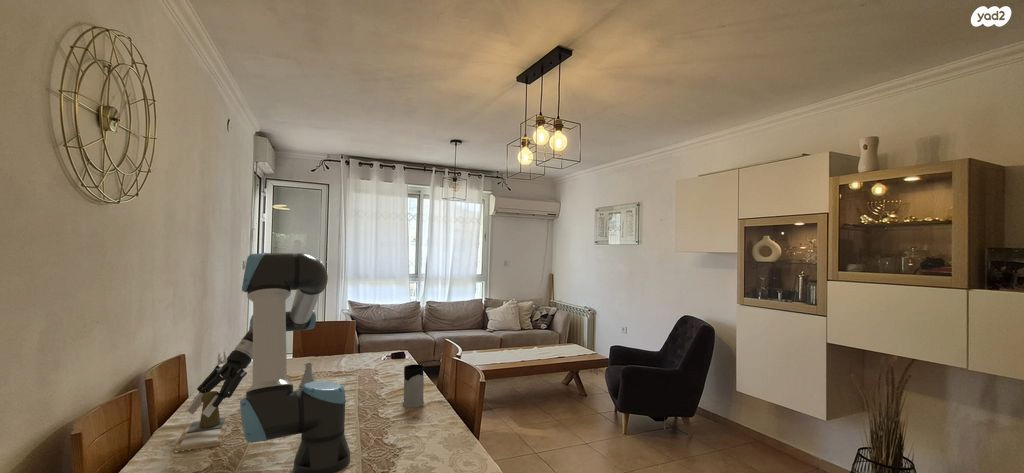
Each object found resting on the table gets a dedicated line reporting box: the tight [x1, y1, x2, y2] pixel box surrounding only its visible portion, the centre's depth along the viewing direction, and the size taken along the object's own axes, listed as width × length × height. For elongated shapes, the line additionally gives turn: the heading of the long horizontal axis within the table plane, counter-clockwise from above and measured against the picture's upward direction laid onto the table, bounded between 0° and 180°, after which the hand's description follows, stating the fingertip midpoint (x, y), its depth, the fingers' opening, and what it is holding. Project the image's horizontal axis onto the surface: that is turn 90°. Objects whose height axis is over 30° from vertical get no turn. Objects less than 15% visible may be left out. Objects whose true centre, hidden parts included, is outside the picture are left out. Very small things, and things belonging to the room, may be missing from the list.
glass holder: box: [402, 364, 425, 409], centre depth 181 cm, size 9×14×15 cm, turn 36°
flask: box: [299, 362, 317, 388], centre depth 201 cm, size 7×7×10 cm
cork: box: [199, 390, 221, 428], centre depth 152 cm, size 6×6×11 cm
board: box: [173, 416, 231, 453], centre depth 147 cm, size 22×12×2 cm, turn 27°
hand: (197, 413), depth 148 cm, fingers open, 7 cm apart
